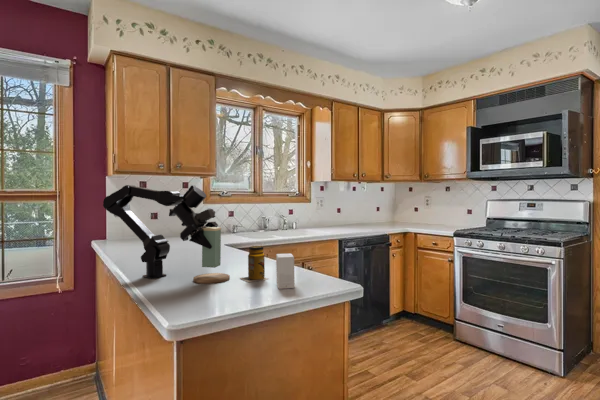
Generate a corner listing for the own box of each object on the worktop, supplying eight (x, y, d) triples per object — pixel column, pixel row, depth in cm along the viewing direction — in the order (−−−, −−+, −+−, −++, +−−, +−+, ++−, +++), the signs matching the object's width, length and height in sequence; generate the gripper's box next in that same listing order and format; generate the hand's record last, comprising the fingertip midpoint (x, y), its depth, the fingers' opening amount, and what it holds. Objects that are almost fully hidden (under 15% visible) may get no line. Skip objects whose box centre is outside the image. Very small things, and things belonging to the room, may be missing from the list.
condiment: (269, 279, 132) (268, 246, 132) (248, 282, 128) (247, 248, 128) (259, 275, 138) (259, 244, 138) (239, 278, 134) (239, 246, 134)
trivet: (186, 280, 132) (186, 277, 132) (214, 274, 142) (214, 271, 142) (208, 285, 124) (208, 282, 124) (237, 278, 134) (236, 275, 134)
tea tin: (201, 267, 130) (202, 228, 130) (207, 264, 136) (208, 227, 135) (215, 267, 130) (215, 228, 129) (220, 265, 135) (221, 227, 135)
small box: (294, 288, 119) (294, 256, 119) (277, 289, 118) (277, 257, 118) (292, 282, 127) (292, 253, 127) (276, 283, 126) (276, 253, 126)
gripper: (187, 201, 124) (216, 234, 122) (213, 201, 142) (239, 229, 140) (167, 224, 126) (196, 256, 124) (195, 220, 144) (220, 249, 142)
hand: (214, 247), depth 132 cm, fingers closed on tea tin, 5 cm apart
